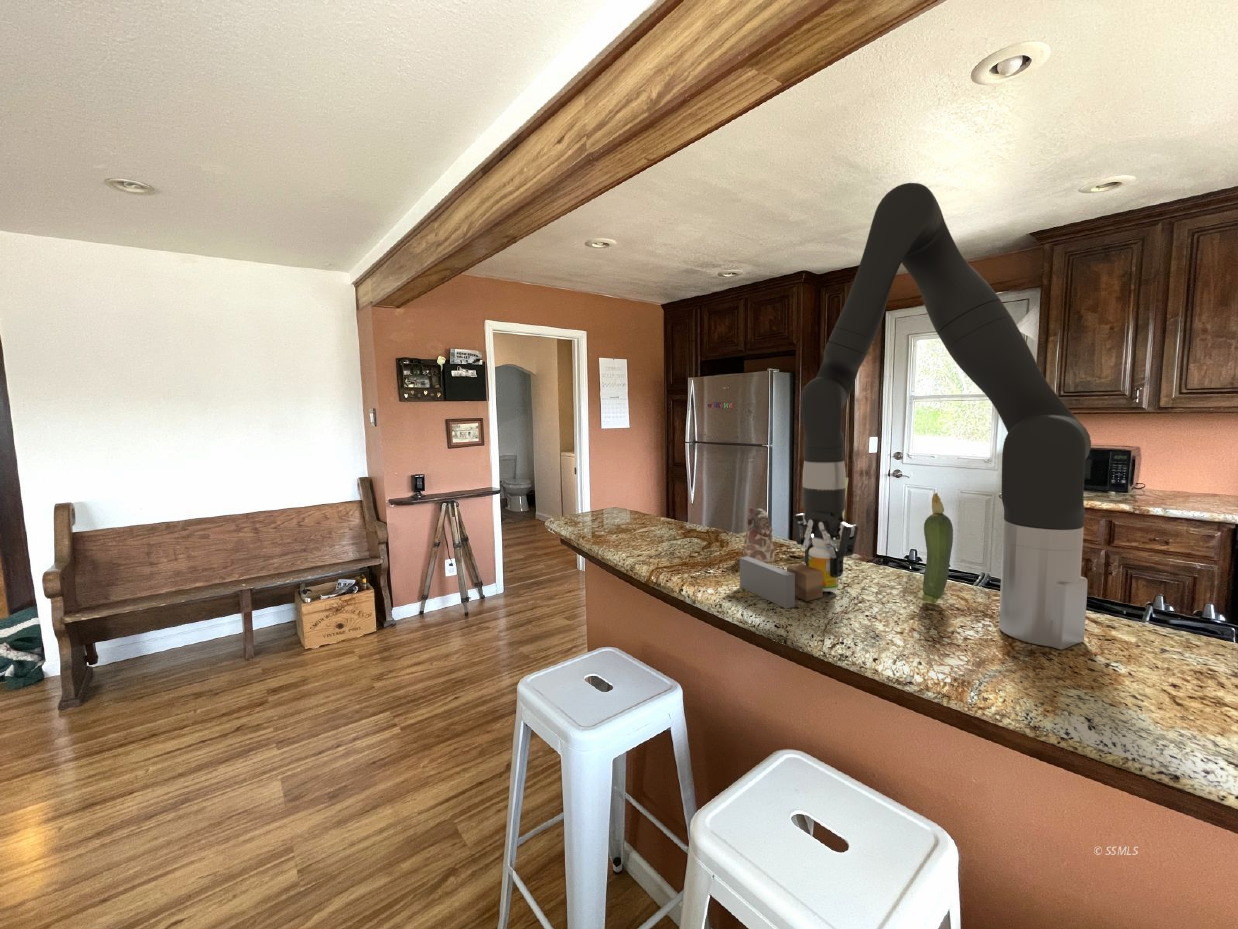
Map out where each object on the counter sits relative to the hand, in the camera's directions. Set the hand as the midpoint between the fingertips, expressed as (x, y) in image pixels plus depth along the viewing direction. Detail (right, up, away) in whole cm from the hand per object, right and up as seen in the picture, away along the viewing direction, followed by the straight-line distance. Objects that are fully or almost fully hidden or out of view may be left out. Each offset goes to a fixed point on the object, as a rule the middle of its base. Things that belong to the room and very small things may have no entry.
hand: (823, 572), depth 99 cm
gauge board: (-3, -4, +3) cm, 6 cm away
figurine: (-6, -2, +24) cm, 25 cm away
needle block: (-5, -4, +1) cm, 6 cm away
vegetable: (+17, -4, -7) cm, 19 cm away
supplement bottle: (0, -3, 0) cm, 3 cm away
